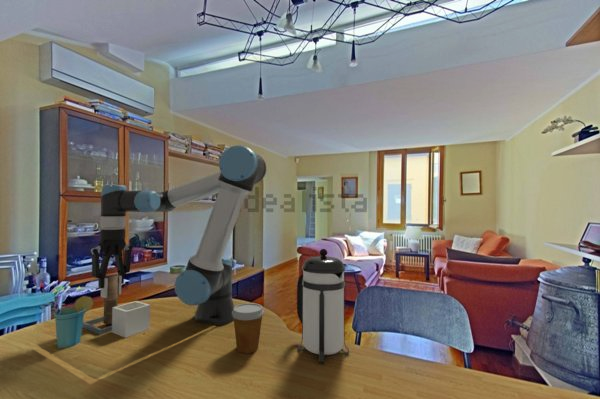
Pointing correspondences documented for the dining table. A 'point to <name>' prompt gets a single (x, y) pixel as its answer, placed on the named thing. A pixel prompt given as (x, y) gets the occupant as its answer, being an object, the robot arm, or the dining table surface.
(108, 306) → the dowel
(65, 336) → the cup
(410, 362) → the dining table surface
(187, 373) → the dining table surface
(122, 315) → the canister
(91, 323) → the tray
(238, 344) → the disposable coffee cup
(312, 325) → the coffee press
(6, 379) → the dining table surface
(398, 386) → the dining table surface
